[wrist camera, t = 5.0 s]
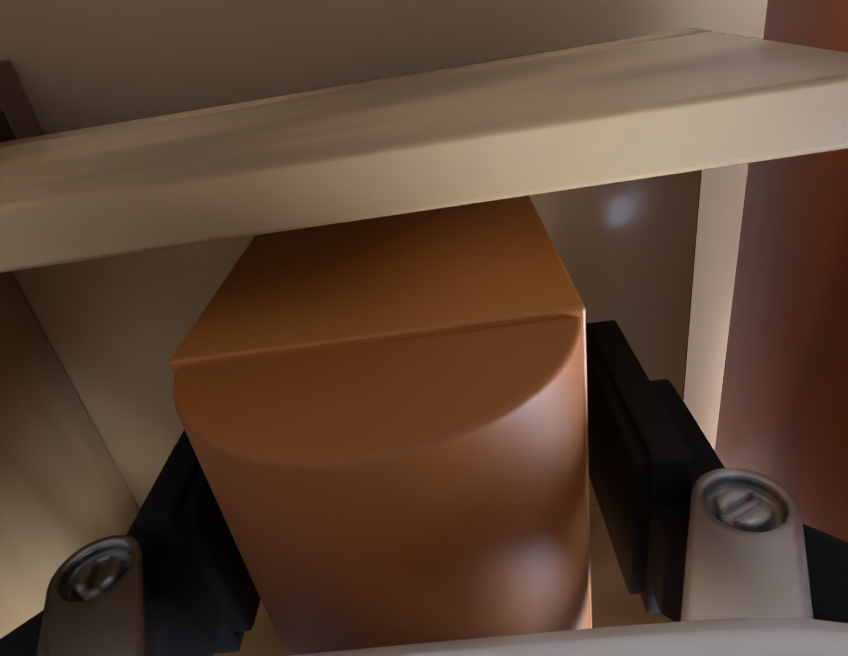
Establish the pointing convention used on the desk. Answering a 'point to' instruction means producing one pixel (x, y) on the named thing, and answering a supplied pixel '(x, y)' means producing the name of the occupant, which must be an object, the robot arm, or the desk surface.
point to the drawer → (418, 191)
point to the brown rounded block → (399, 427)
